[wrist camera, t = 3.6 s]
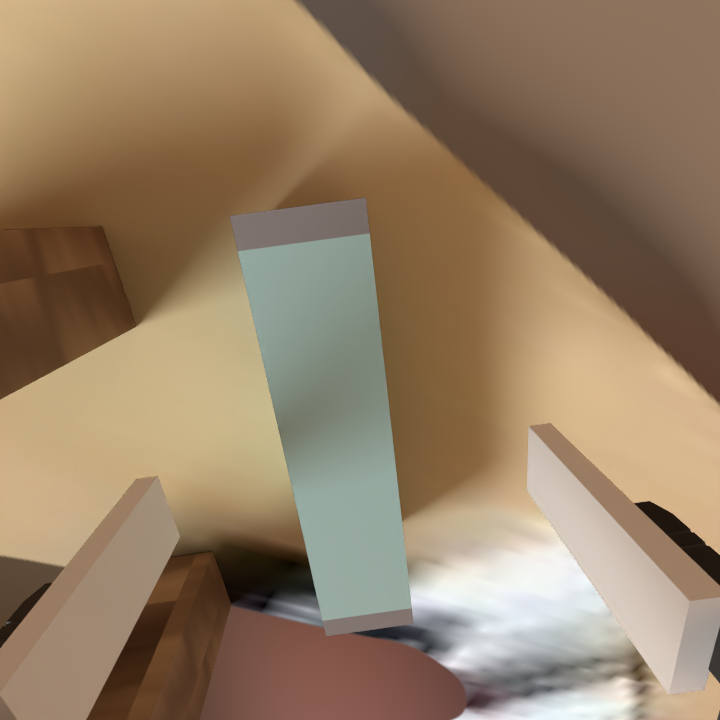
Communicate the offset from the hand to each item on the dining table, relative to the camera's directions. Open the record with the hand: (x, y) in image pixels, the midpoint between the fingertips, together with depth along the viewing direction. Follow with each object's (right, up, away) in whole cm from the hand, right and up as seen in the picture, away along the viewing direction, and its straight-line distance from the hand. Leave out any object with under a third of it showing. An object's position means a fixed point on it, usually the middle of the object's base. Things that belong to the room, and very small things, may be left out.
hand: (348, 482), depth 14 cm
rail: (-1, +2, +6) cm, 7 cm away
